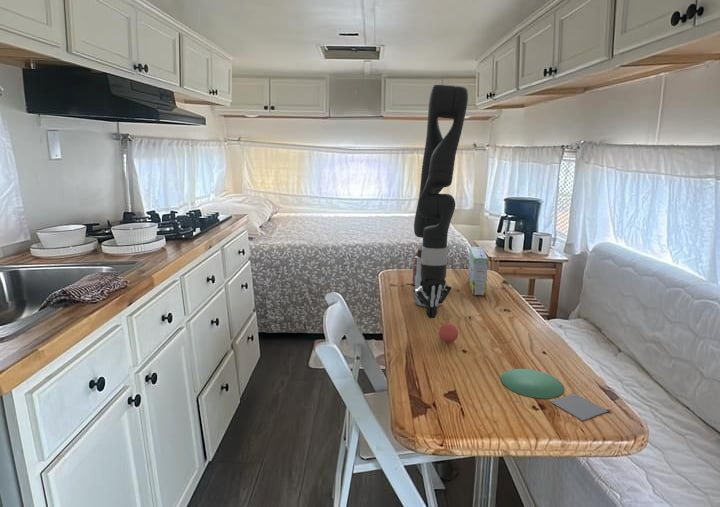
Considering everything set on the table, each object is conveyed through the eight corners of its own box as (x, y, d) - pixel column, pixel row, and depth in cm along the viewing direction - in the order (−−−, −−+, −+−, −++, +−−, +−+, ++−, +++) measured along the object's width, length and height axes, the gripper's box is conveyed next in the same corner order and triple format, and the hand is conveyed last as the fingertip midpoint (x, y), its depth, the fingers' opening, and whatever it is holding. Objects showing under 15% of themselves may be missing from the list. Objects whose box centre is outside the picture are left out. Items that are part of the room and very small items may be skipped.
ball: (434, 340, 132) (435, 322, 131) (449, 336, 135) (450, 319, 134) (446, 347, 128) (447, 328, 126) (461, 343, 130) (463, 325, 129)
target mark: (488, 376, 111) (488, 375, 111) (530, 365, 117) (530, 364, 117) (533, 404, 99) (533, 403, 99) (577, 390, 105) (577, 389, 105)
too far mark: (550, 402, 100) (550, 401, 100) (575, 394, 104) (575, 393, 104) (582, 421, 93) (582, 420, 93) (607, 411, 97) (608, 410, 97)
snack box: (466, 280, 196) (469, 246, 192) (480, 281, 195) (482, 246, 192) (471, 295, 175) (474, 257, 172) (486, 296, 174) (489, 258, 171)
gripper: (443, 257, 141) (440, 311, 144) (408, 261, 135) (406, 317, 138) (459, 262, 134) (456, 318, 138) (423, 266, 128) (420, 325, 132)
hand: (431, 317), depth 138 cm, fingers closed
